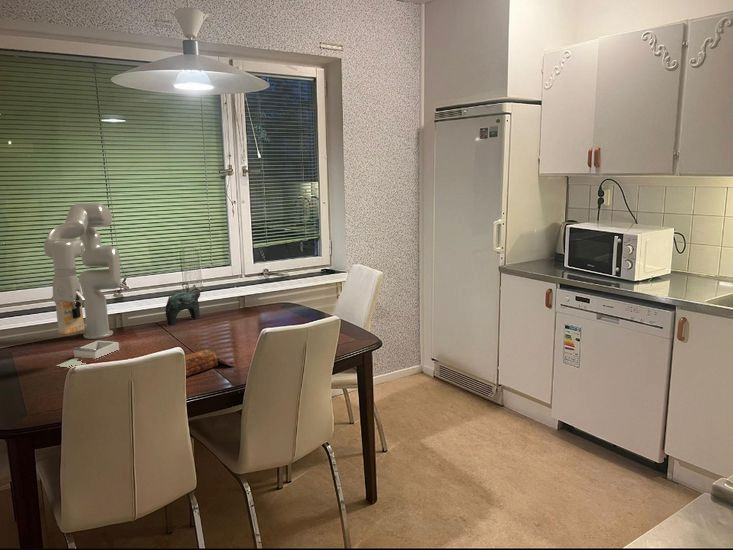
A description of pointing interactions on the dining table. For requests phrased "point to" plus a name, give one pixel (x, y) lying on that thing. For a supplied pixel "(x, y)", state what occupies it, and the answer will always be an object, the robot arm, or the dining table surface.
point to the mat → (71, 363)
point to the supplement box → (68, 318)
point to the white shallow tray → (92, 351)
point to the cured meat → (203, 361)
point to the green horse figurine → (183, 304)
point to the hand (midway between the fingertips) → (70, 316)
